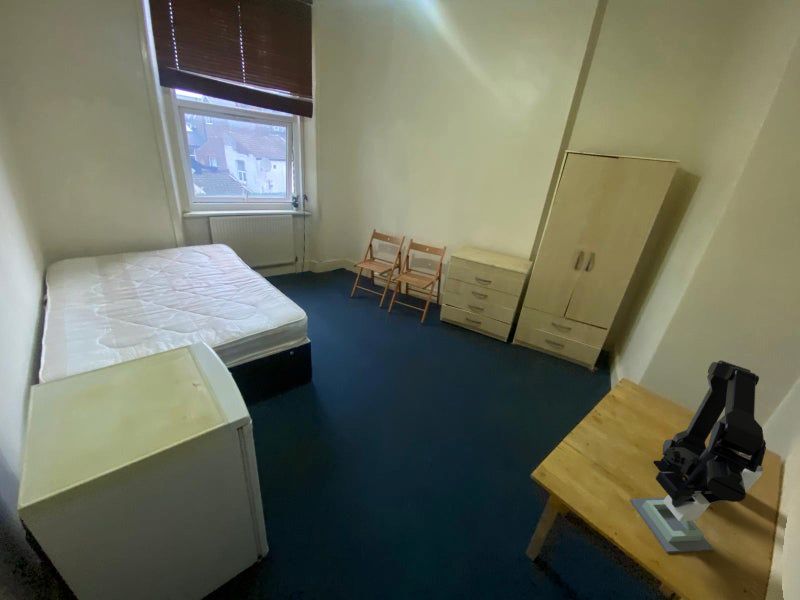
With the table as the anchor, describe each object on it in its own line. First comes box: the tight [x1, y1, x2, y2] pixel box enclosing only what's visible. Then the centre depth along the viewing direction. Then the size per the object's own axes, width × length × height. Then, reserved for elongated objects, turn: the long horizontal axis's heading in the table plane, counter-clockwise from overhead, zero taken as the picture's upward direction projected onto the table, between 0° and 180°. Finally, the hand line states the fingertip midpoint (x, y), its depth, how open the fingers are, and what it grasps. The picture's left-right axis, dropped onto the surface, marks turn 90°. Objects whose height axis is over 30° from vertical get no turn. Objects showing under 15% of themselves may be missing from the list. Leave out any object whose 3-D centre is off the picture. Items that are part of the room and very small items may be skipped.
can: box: [740, 453, 764, 493], centre depth 96 cm, size 6×6×12 cm
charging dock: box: [629, 497, 714, 553], centre depth 86 cm, size 13×13×3 cm
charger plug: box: [663, 492, 711, 521], centre depth 83 cm, size 5×5×8 cm
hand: (683, 505), depth 83 cm, fingers closed on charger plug, 5 cm apart
